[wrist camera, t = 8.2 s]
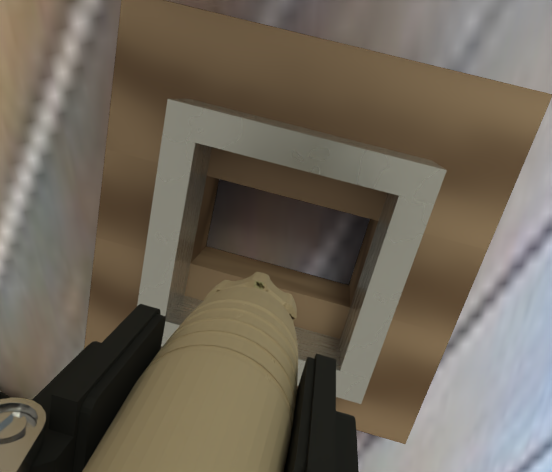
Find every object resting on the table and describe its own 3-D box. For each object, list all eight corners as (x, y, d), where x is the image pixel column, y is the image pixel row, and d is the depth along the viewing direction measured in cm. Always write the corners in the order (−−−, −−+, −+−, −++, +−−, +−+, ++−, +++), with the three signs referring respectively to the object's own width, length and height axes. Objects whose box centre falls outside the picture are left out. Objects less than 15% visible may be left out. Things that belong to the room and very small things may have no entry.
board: (149, 3, 23) (122, -10, 20) (525, 95, 22) (552, 94, 19) (108, 326, 30) (84, 350, 27) (398, 409, 28) (405, 444, 26)
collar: (190, 98, 21) (167, 98, 19) (431, 160, 21) (446, 170, 18) (155, 311, 25) (132, 338, 22) (358, 368, 25) (361, 404, 22)
